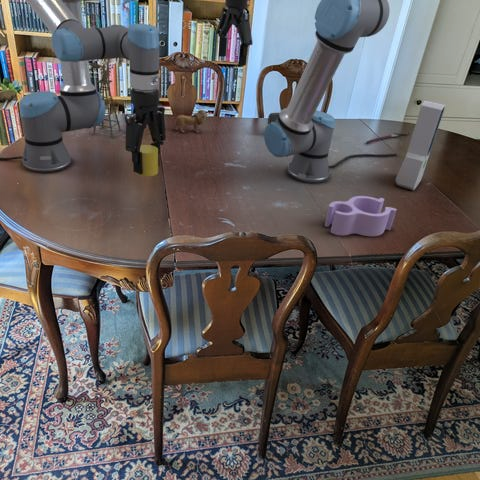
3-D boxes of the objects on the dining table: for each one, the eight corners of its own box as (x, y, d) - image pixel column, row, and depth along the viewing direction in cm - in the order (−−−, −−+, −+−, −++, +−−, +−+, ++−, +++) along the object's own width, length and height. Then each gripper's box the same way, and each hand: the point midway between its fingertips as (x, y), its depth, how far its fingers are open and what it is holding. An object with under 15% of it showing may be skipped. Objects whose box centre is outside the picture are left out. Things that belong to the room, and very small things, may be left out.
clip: (337, 240, 135) (342, 219, 131) (318, 218, 145) (322, 198, 141) (395, 233, 141) (402, 213, 137) (373, 213, 151) (378, 194, 147)
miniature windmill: (112, 137, 184) (107, 58, 168) (92, 134, 185) (85, 54, 169) (121, 130, 192) (117, 53, 176) (102, 127, 193) (96, 50, 177)
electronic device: (413, 191, 168) (440, 109, 151) (393, 185, 171) (417, 104, 154) (421, 180, 177) (448, 101, 161) (402, 174, 180) (426, 96, 164)
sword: (404, 132, 223) (404, 129, 222) (409, 134, 221) (409, 132, 220) (360, 143, 207) (361, 141, 206) (365, 146, 205) (366, 143, 204)
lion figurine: (203, 128, 203) (204, 107, 198) (207, 132, 199) (208, 111, 194) (170, 129, 198) (170, 108, 193) (173, 133, 194) (173, 112, 189)
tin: (162, 169, 138) (161, 147, 135) (152, 178, 133) (151, 155, 129) (141, 165, 140) (141, 143, 136) (131, 173, 134) (130, 150, 131)
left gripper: (129, 98, 115) (132, 183, 127) (179, 85, 129) (178, 162, 141) (107, 92, 118) (112, 175, 130) (158, 79, 132) (159, 155, 145)
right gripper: (208, -11, 163) (205, 53, 174) (248, -1, 146) (241, 69, 157) (227, -10, 167) (223, 52, 178) (267, 0, 150) (259, 68, 161)
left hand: (146, 168), depth 136 cm, fingers closed on tin, 7 cm apart
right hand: (231, 60), depth 168 cm, fingers open, 13 cm apart
